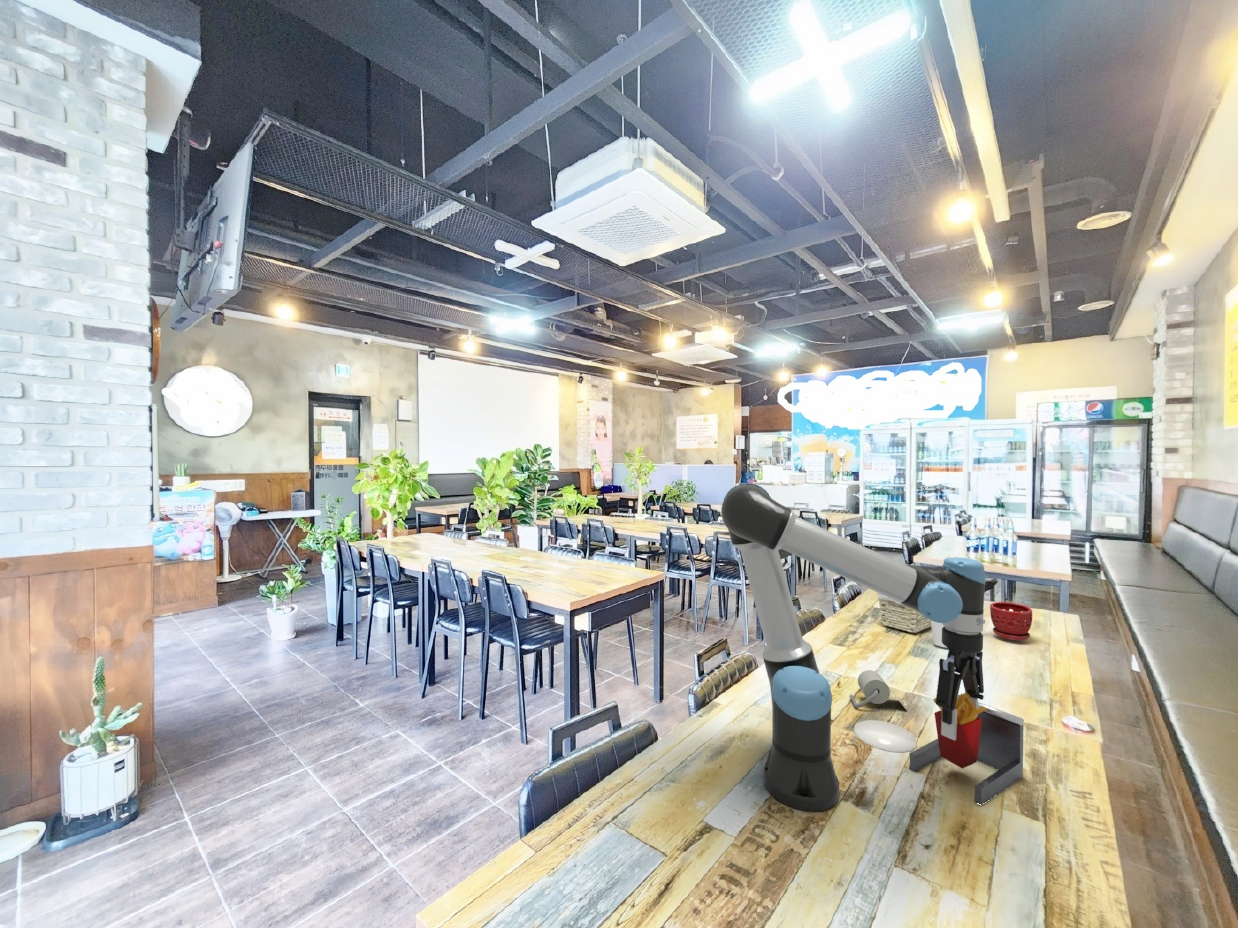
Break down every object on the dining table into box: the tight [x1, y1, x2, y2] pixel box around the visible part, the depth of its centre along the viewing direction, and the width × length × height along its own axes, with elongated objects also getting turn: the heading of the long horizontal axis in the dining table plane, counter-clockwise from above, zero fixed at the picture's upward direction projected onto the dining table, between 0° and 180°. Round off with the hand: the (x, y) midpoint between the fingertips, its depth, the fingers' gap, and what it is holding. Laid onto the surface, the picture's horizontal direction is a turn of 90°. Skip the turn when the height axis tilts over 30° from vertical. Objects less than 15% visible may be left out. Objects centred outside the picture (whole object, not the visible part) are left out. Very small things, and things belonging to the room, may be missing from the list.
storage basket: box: [877, 593, 932, 634], centre depth 215 cm, size 24×16×15 cm
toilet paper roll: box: [849, 669, 906, 709], centre depth 146 cm, size 10×11×12 cm
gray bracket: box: [909, 694, 1025, 806], centre depth 114 cm, size 19×14×14 cm
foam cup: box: [930, 620, 948, 649], centre depth 192 cm, size 10×9×13 cm
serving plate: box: [853, 719, 918, 754], centre depth 129 cm, size 14×14×1 cm
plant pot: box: [989, 601, 1033, 642], centre depth 200 cm, size 13×13×12 cm
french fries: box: [932, 692, 987, 769], centre depth 112 cm, size 9×8×15 cm
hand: (959, 731), depth 112 cm, fingers closed on french fries, 8 cm apart
